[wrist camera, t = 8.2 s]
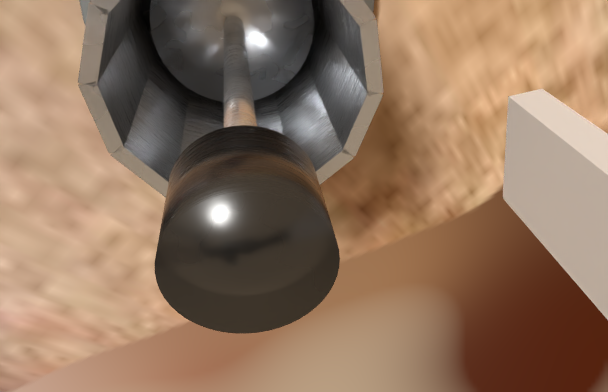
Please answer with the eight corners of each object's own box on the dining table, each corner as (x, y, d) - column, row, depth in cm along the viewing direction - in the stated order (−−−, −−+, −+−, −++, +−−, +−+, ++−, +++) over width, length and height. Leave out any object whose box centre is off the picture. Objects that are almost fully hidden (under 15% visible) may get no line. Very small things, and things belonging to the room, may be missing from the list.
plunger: (180, 110, 28) (125, 428, 12) (126, -46, 23) (-71, 135, 8) (322, 79, 28) (450, 354, 12) (296, -83, 23) (442, 22, 8)
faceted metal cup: (178, 145, 32) (158, 273, 22) (97, -79, 25) (13, -43, 15) (345, 109, 32) (400, 218, 22) (311, -126, 25) (370, -119, 15)
